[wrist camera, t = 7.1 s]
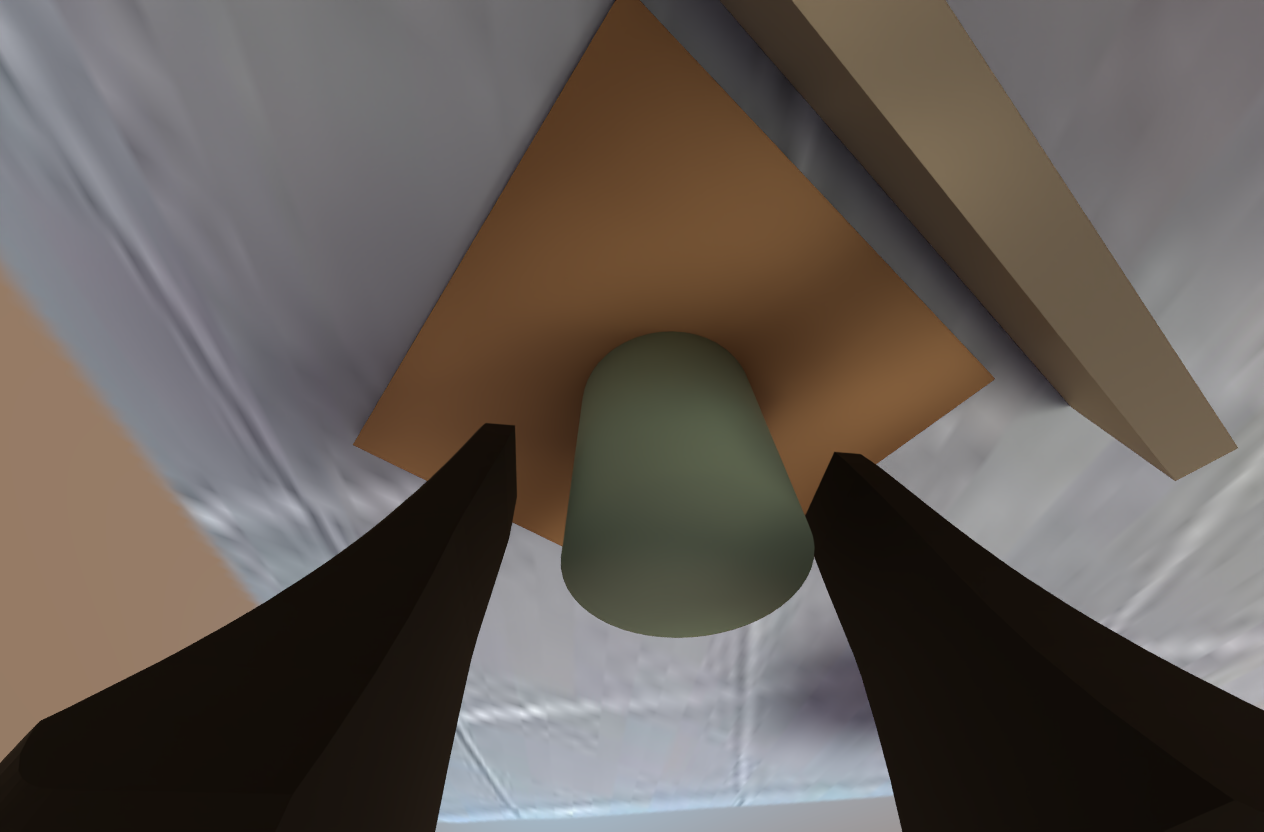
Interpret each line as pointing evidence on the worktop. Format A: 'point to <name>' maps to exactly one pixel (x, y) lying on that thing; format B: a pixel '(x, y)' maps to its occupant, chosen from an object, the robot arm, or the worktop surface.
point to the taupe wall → (990, 208)
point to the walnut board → (664, 286)
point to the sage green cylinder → (679, 495)
